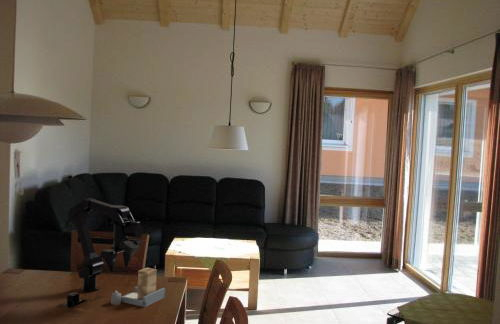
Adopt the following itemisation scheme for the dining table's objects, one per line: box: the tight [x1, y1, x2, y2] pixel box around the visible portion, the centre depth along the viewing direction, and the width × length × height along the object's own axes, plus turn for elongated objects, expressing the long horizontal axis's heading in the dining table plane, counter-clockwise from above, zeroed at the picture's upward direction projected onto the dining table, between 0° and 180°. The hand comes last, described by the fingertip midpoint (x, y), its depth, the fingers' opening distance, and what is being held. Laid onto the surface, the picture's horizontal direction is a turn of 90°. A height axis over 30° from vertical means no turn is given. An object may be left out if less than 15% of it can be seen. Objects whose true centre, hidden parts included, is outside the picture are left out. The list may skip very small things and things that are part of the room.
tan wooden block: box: [137, 267, 158, 301], centre depth 195 cm, size 5×6×13 cm
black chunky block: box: [60, 291, 86, 309], centre depth 191 cm, size 12×7×5 cm, turn 161°
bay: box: [110, 285, 166, 308], centre depth 194 cm, size 16×18×6 cm
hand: (119, 269), depth 201 cm, fingers open, 9 cm apart
